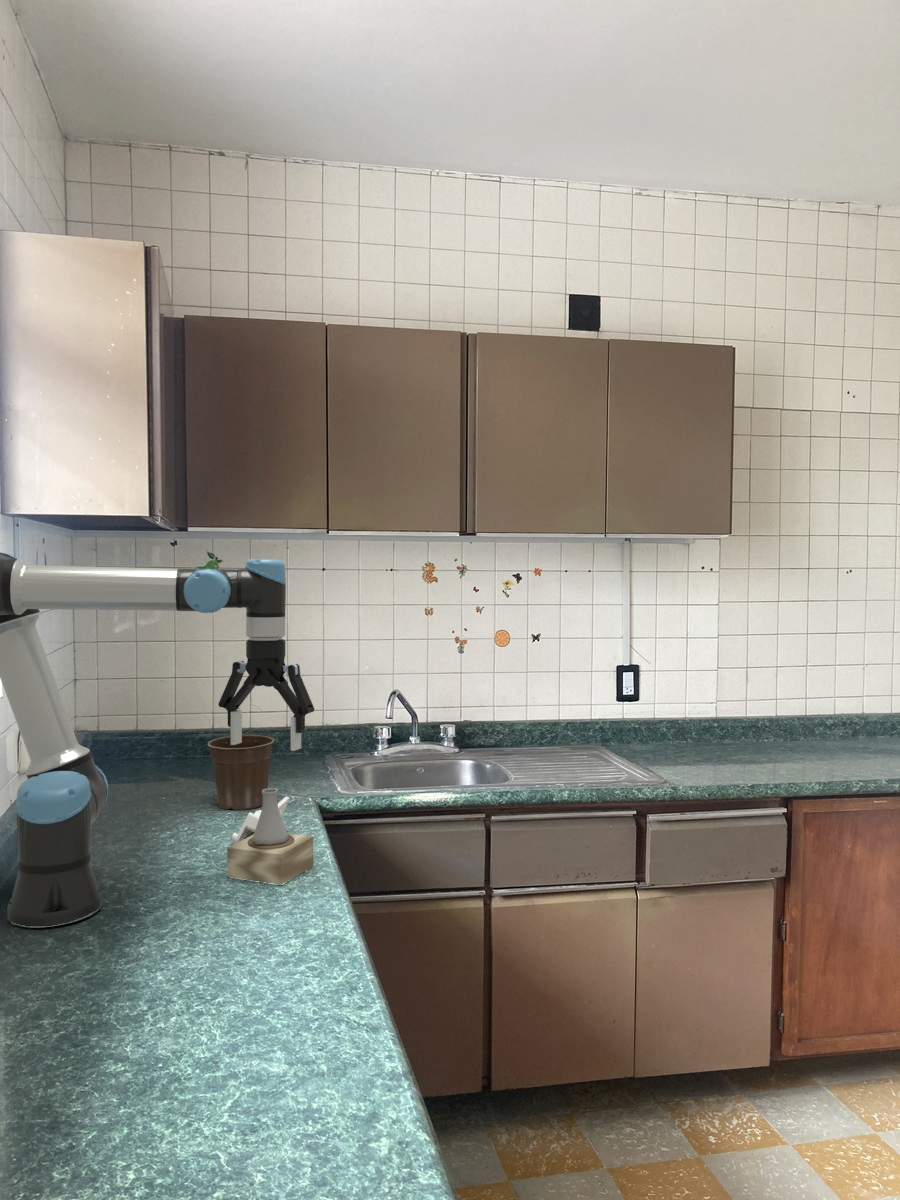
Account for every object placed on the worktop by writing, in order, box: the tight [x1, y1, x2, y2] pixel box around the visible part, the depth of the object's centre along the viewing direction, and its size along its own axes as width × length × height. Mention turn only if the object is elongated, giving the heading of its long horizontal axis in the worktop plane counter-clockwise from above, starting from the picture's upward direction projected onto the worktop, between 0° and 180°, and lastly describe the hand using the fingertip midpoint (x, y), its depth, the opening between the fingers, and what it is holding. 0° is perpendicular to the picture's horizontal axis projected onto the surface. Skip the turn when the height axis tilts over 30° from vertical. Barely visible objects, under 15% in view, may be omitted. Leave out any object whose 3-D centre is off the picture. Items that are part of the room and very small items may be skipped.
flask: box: [252, 787, 289, 845], centre depth 176 cm, size 7×7×10 cm
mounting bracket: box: [230, 796, 291, 844], centre depth 198 cm, size 12×6×11 cm, turn 173°
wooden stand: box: [226, 832, 314, 884], centre depth 176 cm, size 12×12×6 cm
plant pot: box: [207, 734, 275, 811], centre depth 226 cm, size 16×16×16 cm
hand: (265, 746), depth 175 cm, fingers open, 13 cm apart
